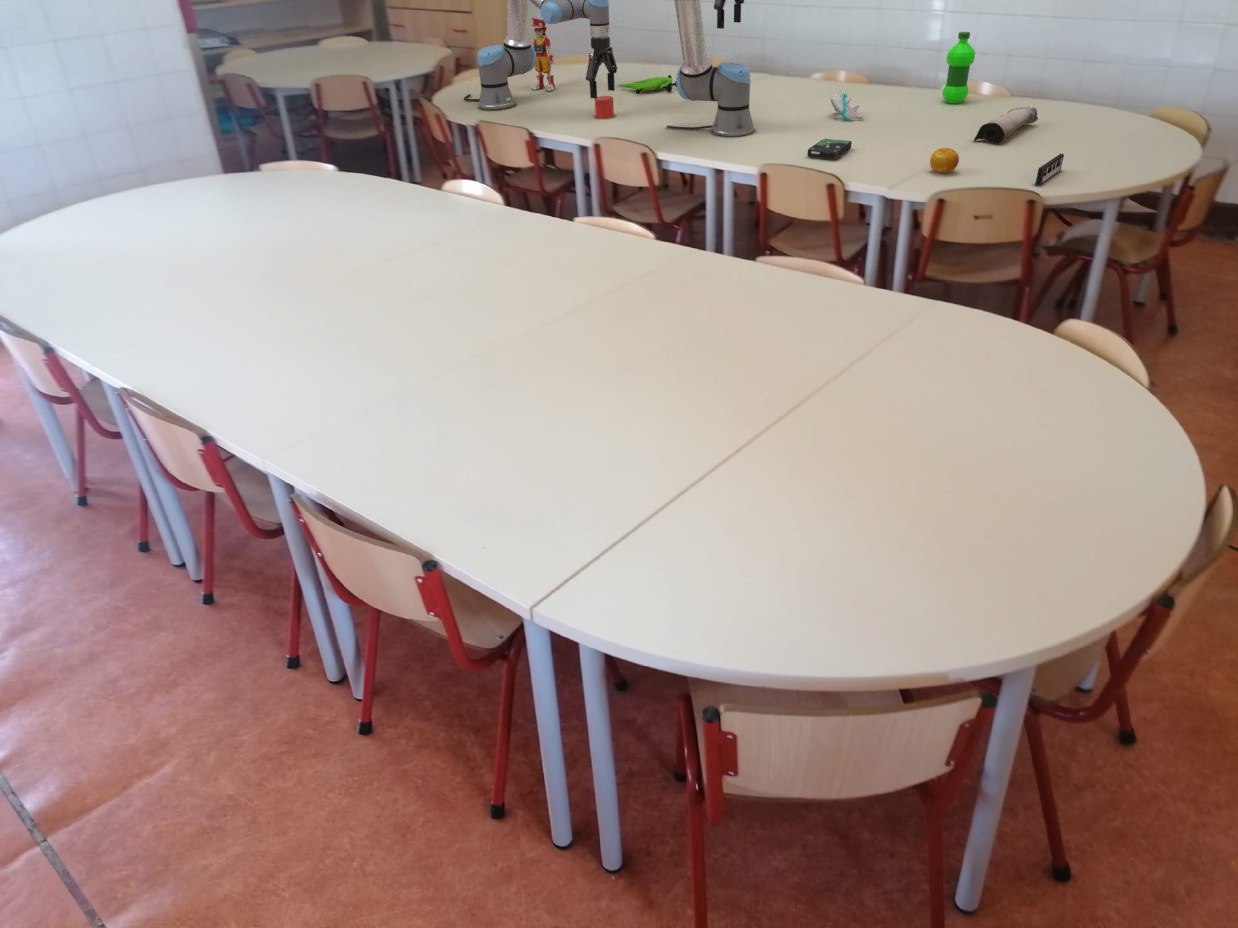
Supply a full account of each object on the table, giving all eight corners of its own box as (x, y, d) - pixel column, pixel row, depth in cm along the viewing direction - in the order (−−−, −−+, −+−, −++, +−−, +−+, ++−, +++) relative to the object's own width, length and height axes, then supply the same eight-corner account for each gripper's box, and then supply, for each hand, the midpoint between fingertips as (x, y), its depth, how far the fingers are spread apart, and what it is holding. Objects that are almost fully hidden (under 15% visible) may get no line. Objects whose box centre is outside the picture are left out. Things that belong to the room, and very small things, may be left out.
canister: (599, 119, 361) (598, 101, 357) (593, 115, 367) (591, 97, 363) (616, 117, 364) (615, 98, 359) (610, 113, 369) (609, 95, 365)
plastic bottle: (973, 101, 354) (984, 32, 339) (955, 106, 349) (966, 36, 335) (952, 97, 361) (962, 29, 346) (934, 102, 356) (944, 33, 342)
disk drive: (836, 161, 300) (851, 148, 310) (836, 152, 298) (852, 140, 308) (806, 157, 305) (822, 145, 315) (807, 149, 303) (823, 137, 313)
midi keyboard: (1039, 185, 269) (1043, 168, 266) (1035, 184, 270) (1038, 168, 267) (1060, 170, 279) (1064, 154, 277) (1056, 169, 280) (1060, 153, 277)
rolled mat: (1005, 112, 327) (1029, 94, 319) (1019, 133, 327) (1043, 116, 319) (969, 134, 310) (993, 117, 301) (984, 157, 310) (1008, 139, 302)
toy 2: (689, 81, 403) (635, 80, 419) (688, 69, 400) (634, 69, 416) (655, 100, 386) (600, 99, 403) (654, 88, 383) (598, 87, 400)
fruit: (924, 163, 281) (941, 140, 278) (925, 165, 289) (941, 143, 286) (946, 178, 280) (963, 155, 277) (947, 180, 288) (963, 158, 285)
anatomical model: (825, 90, 346) (851, 83, 346) (828, 117, 352) (853, 110, 352) (836, 99, 334) (863, 92, 333) (839, 127, 340) (865, 120, 339)
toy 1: (527, 91, 410) (520, 18, 393) (536, 86, 417) (529, 15, 400) (551, 91, 406) (544, 19, 389) (559, 87, 413) (553, 15, 396)
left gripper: (591, 43, 338) (594, 102, 351) (624, 31, 355) (626, 88, 368) (574, 42, 341) (578, 100, 354) (608, 30, 359) (610, 86, 371)
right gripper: (736, -41, 347) (735, 19, 359) (704, -33, 330) (704, 30, 342) (754, -41, 343) (752, 20, 355) (722, -32, 327) (722, 31, 339)
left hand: (602, 94), depth 361 cm, fingers open, 13 cm apart
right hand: (729, 25), depth 349 cm, fingers open, 13 cm apart
